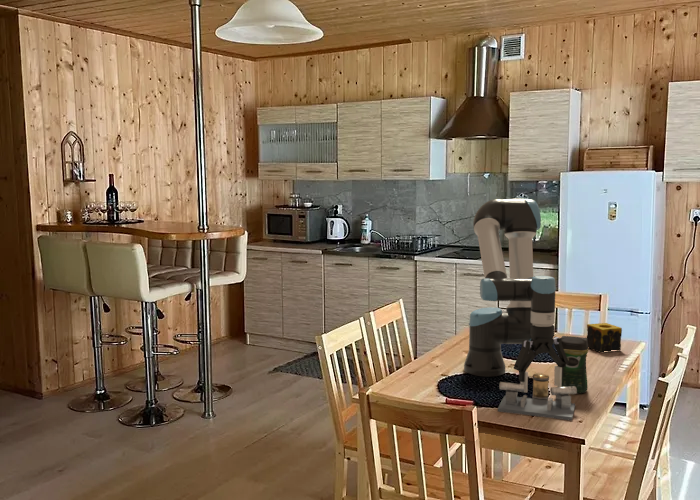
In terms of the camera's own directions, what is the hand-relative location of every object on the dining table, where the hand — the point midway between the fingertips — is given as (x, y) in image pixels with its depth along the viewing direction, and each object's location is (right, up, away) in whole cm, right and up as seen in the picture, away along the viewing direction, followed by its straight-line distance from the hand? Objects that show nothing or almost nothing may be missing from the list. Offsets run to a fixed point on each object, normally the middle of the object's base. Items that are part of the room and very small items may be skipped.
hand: (541, 388), depth 223 cm
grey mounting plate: (-4, -5, -8) cm, 10 cm away
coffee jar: (+13, -3, +9) cm, 17 cm away
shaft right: (+4, -5, -10) cm, 11 cm away
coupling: (0, -4, +1) cm, 4 cm away
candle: (+43, +3, +63) cm, 76 cm away
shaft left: (-11, -4, -6) cm, 13 cm away
